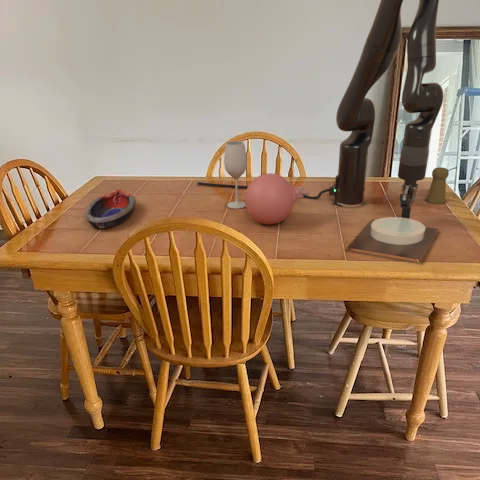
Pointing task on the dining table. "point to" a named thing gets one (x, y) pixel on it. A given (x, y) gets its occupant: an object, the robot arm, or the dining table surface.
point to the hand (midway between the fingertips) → (405, 219)
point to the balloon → (271, 198)
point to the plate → (397, 230)
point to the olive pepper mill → (438, 185)
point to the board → (408, 251)
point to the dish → (110, 209)
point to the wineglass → (235, 166)
